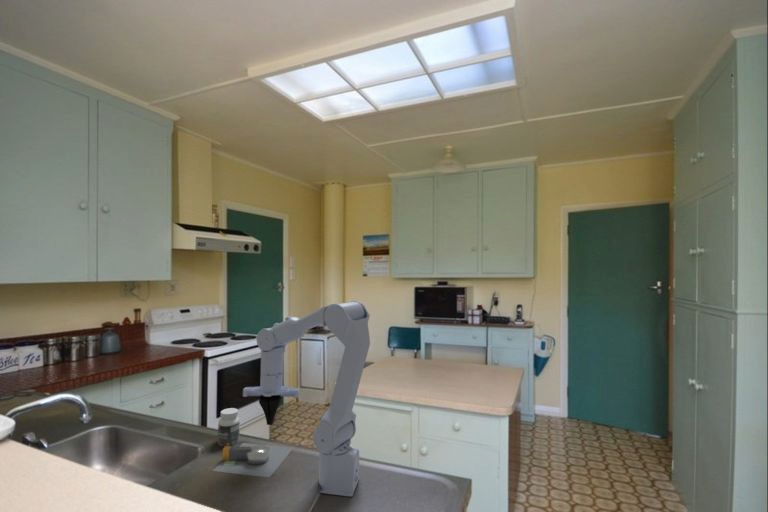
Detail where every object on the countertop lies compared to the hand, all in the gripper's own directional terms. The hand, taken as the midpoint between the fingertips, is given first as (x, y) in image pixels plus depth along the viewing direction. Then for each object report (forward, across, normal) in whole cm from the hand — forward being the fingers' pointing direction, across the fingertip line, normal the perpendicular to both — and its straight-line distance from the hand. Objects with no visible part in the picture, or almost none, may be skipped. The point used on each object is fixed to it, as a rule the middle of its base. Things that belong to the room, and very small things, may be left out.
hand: (270, 423), depth 104 cm
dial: (+9, -5, -2) cm, 10 cm away
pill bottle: (+10, -14, +8) cm, 19 cm away
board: (+10, -3, -2) cm, 11 cm away
